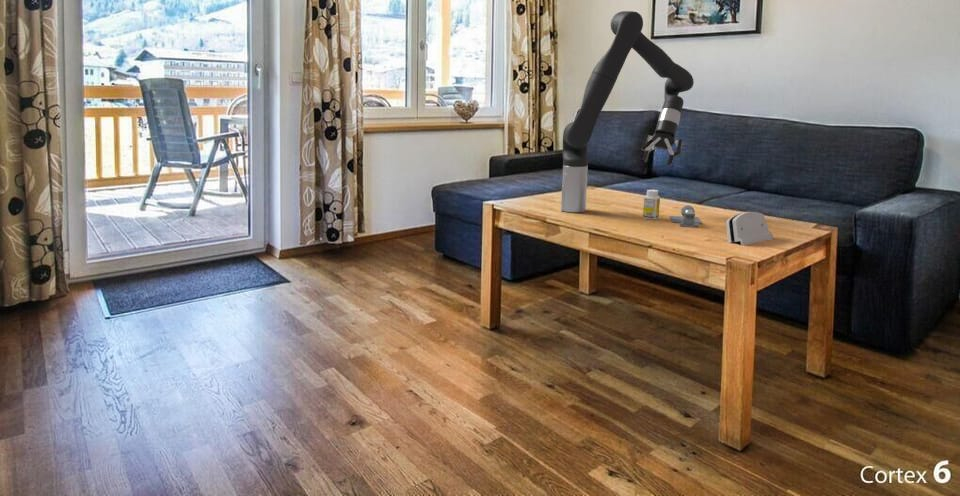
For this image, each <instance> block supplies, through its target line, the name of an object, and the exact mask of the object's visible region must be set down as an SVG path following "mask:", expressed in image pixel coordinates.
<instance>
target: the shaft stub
mask: <svg viewBox="0 0 960 496" xmlns="http://www.w3.org/2000/svg"><path fill="white" fill-rule="evenodd" d="M680 213H681V216H683V217H684V222H679V223H678V224H679V227H682V228H683V227H685V228H699V225H700V224H698V223H694V220H695V217H696V213H695V209H694V207H693V206H692V205H690V204H689V205H688V204H686V205H684V206H683V207H682V208H681V210H680Z"/></svg>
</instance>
